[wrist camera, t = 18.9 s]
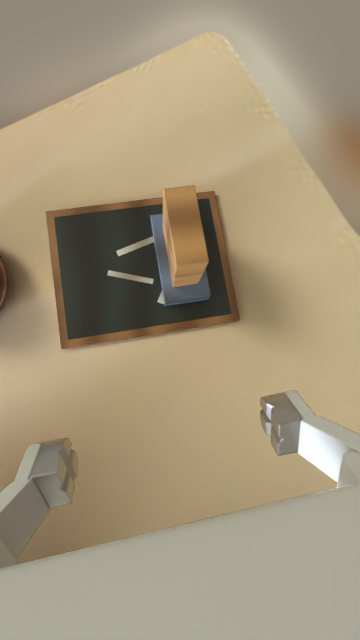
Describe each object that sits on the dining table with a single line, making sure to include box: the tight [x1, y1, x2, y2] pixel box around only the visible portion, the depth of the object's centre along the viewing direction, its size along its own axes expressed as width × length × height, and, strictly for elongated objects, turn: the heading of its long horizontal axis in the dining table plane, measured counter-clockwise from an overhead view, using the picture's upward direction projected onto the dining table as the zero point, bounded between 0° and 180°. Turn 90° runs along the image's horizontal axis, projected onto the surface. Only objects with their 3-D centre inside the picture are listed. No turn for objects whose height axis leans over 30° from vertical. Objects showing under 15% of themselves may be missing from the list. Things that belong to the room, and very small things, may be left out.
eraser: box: [150, 186, 211, 306], centre depth 29 cm, size 10×5×9 cm, turn 10°
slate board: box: [46, 191, 240, 349], centre depth 33 cm, size 20×16×1 cm
